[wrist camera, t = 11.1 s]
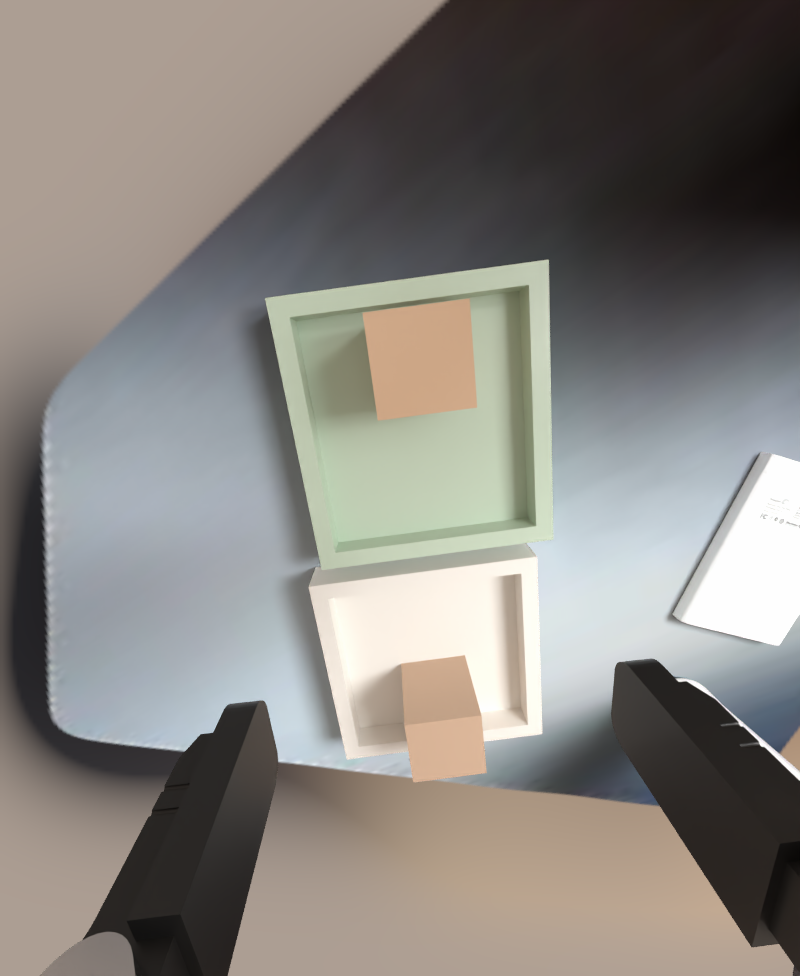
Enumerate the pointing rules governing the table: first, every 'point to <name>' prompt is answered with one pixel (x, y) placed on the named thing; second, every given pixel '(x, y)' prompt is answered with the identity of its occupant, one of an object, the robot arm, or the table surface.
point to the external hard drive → (752, 560)
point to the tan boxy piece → (421, 359)
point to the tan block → (442, 719)
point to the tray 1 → (421, 422)
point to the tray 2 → (431, 639)
